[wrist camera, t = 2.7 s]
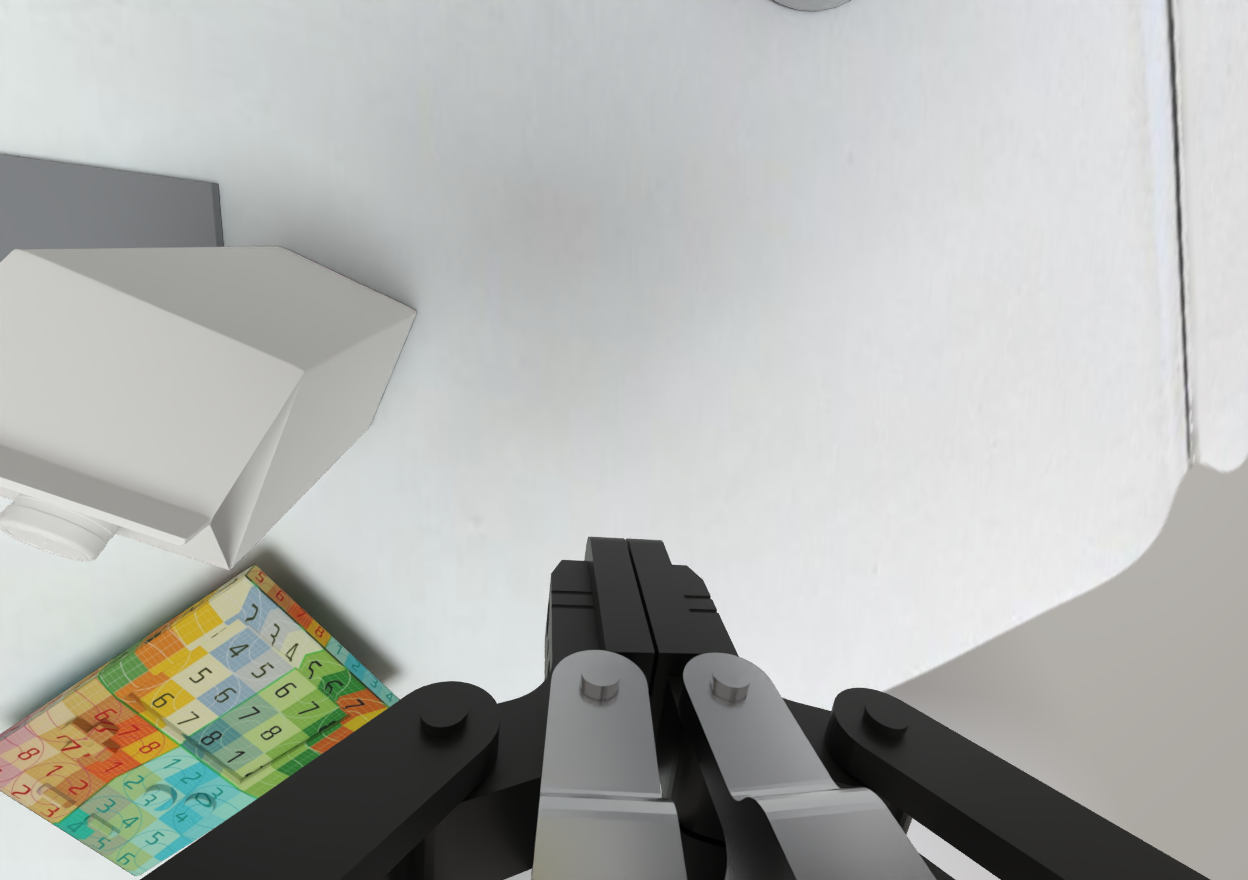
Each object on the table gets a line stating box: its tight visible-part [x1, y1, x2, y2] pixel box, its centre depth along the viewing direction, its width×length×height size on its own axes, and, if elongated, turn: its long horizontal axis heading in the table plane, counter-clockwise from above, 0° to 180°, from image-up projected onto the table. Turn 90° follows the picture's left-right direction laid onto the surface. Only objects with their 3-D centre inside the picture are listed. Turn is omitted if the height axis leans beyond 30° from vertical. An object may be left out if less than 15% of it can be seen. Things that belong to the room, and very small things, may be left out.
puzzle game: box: [0, 565, 400, 876], centre depth 34 cm, size 12×5×20 cm
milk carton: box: [0, 246, 416, 570], centre depth 21 cm, size 7×7×19 cm
